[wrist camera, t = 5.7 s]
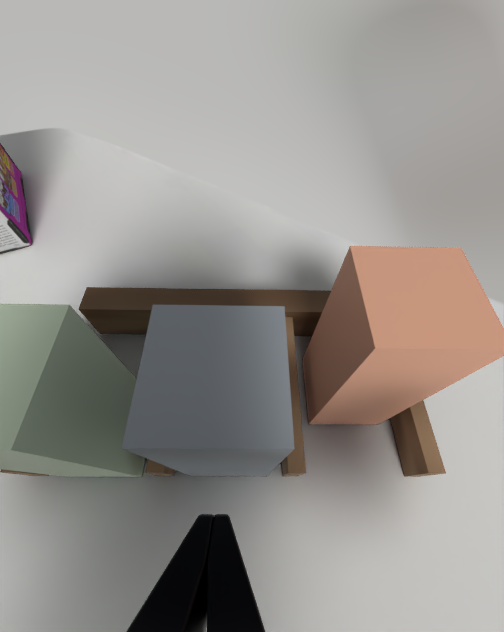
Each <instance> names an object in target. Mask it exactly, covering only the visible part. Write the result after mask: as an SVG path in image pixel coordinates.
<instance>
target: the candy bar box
mask: <svg viewBox="0 0 504 632" xmlns="http://www.w3.org/2000/svg"><path fill="white" fill-rule="evenodd" d="M30 245H31V237H30V230H29V224H28V217H27V211H26V204H25V196H24V189H23V182H22V174H21V171H20V170H19V169H18V168H17V166H16V165H15V163H14V162H13V161H12V159H11V158H10V156H9V155H8V153H7V152H6V151H5V149H4V148H3V146H2V145H1V144H0V254H2V253H5V252H8V251H12V250H16V249H20V248H23V247H27V246H30Z"/></svg>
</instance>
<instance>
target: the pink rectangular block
mask: <svg viewBox="0 0 504 632" xmlns="http://www.w3.org/2000/svg"><path fill="white" fill-rule="evenodd" d="M502 356H504V328H503V326H502V325H501V323H500V321H499V319H498V317H497V315H496V313H495V311H494V309H493V307H492V306H491V304H490V302H489V300H488V298H487V296H486V294H485V292H484V290H483V289H482V287H481V285H480V283H479V281H478V279H477V277H476V275H475V273H474V271H473V269H472V268H471V266H470V264H469V262H468V260H467V258H466V256H465V254H464V252H463V250H462V249H461V248H434V247H433V248H432V247H374V246H372V247H371V246H350V248H349V250H348V252H347V255H346V257H345V259H344V262H343V264H342V267H341V269H340V271H339V274H338V276H337V278H336V281H335V283H334V286H333V288H332V290H331V293H330V295H329V297H328V300H327V302H326V305H325V307H324V309H323V312H322V314H321V317H320V319H319V321H318V324H317V326H316V328H315V331H314V333H313V336H312V338H311V340H310V343H309V345H308V347H307V350H306V352H305V355H304V357H303V359H302V360H303V371H304V381H305V391H306V401H307V411H308V421H309V424H364V425H378V424H380V423H382V422H384V421H385V420H387V419H389V418H391V417H393V416H395V415H396V414H398V413H400V412H402V411H404V410H405V409H407V408H409V407H411V406H413V405H415V404H416V403H418V402H420V401H422V400H424V399H426V398H427V397H429V396H431V395H433V394H435V393H437V392H438V391H440V390H442V389H444V388H446V387H448V386H449V385H451V384H453V383H455V382H457V381H458V380H460V379H462V378H464V377H466V376H468V375H469V374H471V373H473V372H475V371H477V370H479V369H480V368H482V367H484V366H486V365H488V364H490V363H491V362H493V361H495V360H497V359H499V358H500V357H502Z"/></svg>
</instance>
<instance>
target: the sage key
mask: <svg viewBox="0 0 504 632" xmlns="http://www.w3.org/2000/svg"><path fill="white" fill-rule="evenodd" d="M135 384H136V378H135V377H134V375H133V374H132V373H131V372H130V371H129V370H128V369H127V368H126V367H125V366H124V364H123V363H122V362H121V361H120V360H119V359H118V358H117V357H116V356H115V355H114V353H113V352H112V351H111V350H110V349H109V348H108V347H107V346H106V345H105V344H104V342H103V341H102V340H101V339H100V338H99V337H98V336H97V335H96V334H95V332H94V331H93V330H92V329H91V328H90V327H89V326H88V325H87V324H86V323H85V321H84V320H83V319H82V318H81V317H80V316H79V315H78V314H77V313H76V312H75V310H74V309H73V308H72V307H71V306H70V305H47V304H0V469H3V470H12V471H20V472H29V473H37V474H46V475H54V476H63V477H142V473H143V468H144V462H145V458H144V457H142V456H139V455H137V454H134V453H132V452H129V451H127V450H125V449H122V443H123V439H124V434H125V430H126V425H127V420H128V416H129V411H130V407H131V402H132V398H133V393H134V388H135Z"/></svg>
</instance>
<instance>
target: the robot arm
mask: <svg viewBox="0 0 504 632" xmlns="http://www.w3.org/2000/svg"><path fill="white" fill-rule="evenodd" d="M206 626H207V632H265V629H264V626H263V623H262V620H261V616H260V613H259V610H258V607H257V604H256V600H255V597H254V594H253V591H252V588H251V584H250V581H249V578H248V575H247V572H246V568H245V565H244V562H243V559H242V556H241V552H240V549H239V546H238V543H237V540H236V536H235V533H234V530H233V527H232V524H231V520H230V517H229V516H228V515H227V514H217V515H215V516H213V515H212V514H202V515H199V516H198V518H197V519H196V521H195V523H194V524H193V526H192V527H191V529H190V531H189V532H188V534H187V535H186V537H185V539H184V540H183V542H182V543H181V545H180V547H179V548H178V550H177V551H176V553H175V555H174V556H173V558H172V559H171V561H170V563H169V564H168V566H167V567H166V569H165V571H164V572H163V574H162V575H161V577H160V579H159V580H158V582H157V584H156V585H155V587H154V588H153V590H152V592H151V593H150V595H149V596H148V598H147V600H146V601H145V603H144V604H143V606H142V608H141V609H140V611H139V612H138V614H137V616H136V617H135V619H134V620H133V622H132V624H131V625H130V627H129V628H128V630H127V632H206Z"/></svg>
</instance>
